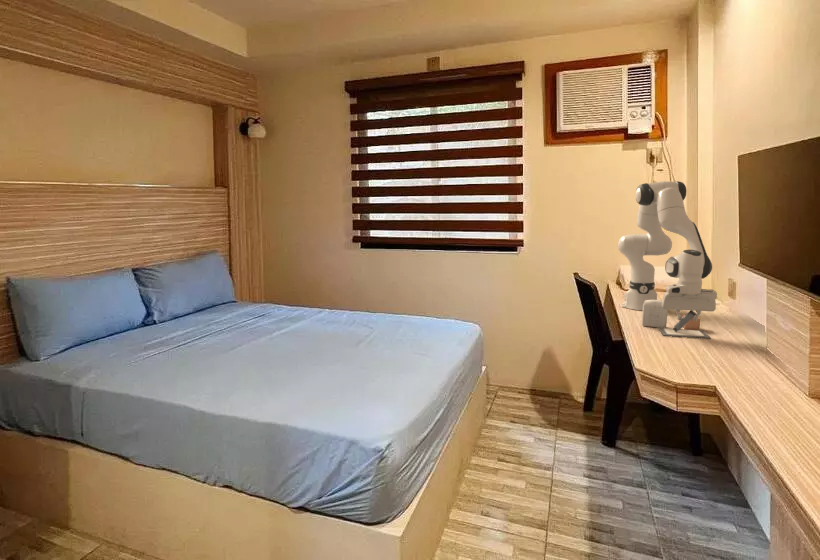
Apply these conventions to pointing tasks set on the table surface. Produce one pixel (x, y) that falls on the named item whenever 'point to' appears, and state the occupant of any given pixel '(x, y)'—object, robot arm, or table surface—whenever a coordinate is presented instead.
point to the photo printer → (654, 314)
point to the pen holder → (692, 324)
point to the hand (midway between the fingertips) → (687, 320)
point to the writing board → (684, 333)
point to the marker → (684, 320)
